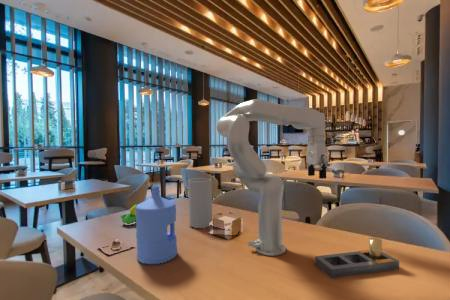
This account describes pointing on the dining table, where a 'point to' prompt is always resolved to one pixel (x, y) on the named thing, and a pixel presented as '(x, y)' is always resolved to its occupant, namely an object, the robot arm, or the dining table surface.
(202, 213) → the cylinder vase
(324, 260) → the grey compartment tray
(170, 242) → the water jug
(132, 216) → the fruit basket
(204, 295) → the dining table surface
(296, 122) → the robot arm
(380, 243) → the brass peg
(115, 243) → the dessert
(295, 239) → the dining table surface
